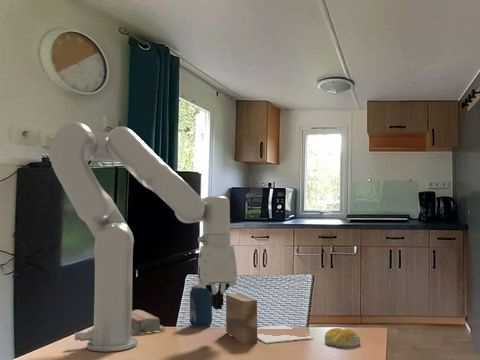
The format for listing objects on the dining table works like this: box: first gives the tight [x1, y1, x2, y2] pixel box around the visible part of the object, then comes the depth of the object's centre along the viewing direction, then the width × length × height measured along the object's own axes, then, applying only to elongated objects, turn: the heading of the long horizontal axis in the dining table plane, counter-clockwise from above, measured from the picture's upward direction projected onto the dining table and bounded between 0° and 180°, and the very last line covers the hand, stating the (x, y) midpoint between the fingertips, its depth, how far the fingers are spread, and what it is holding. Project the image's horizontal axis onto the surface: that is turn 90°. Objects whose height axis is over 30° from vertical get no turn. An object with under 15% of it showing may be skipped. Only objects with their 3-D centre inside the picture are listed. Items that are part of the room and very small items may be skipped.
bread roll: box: [324, 327, 361, 349], centre depth 119 cm, size 8×9×4 cm
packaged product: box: [131, 309, 166, 335], centre depth 141 cm, size 18×5×10 cm
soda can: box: [189, 285, 213, 329], centre depth 144 cm, size 7×7×12 cm
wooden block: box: [225, 293, 258, 345], centre depth 127 cm, size 4×14×11 cm, turn 20°
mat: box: [257, 324, 314, 345], centre depth 130 cm, size 14×18×1 cm
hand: (217, 308), depth 125 cm, fingers closed
